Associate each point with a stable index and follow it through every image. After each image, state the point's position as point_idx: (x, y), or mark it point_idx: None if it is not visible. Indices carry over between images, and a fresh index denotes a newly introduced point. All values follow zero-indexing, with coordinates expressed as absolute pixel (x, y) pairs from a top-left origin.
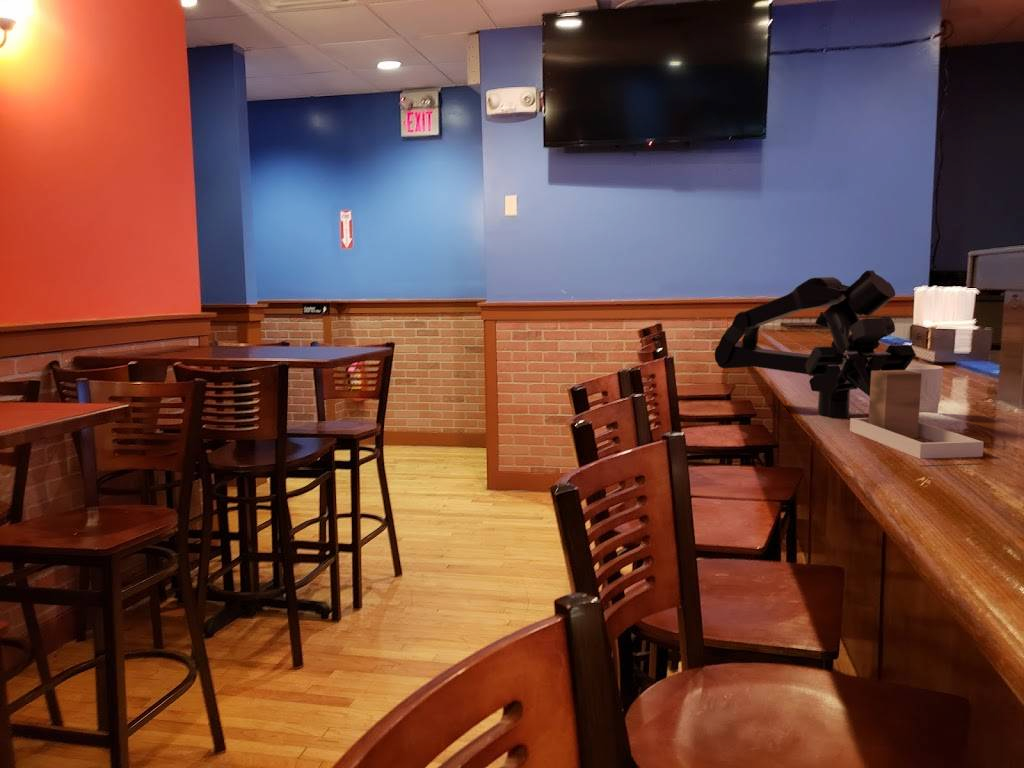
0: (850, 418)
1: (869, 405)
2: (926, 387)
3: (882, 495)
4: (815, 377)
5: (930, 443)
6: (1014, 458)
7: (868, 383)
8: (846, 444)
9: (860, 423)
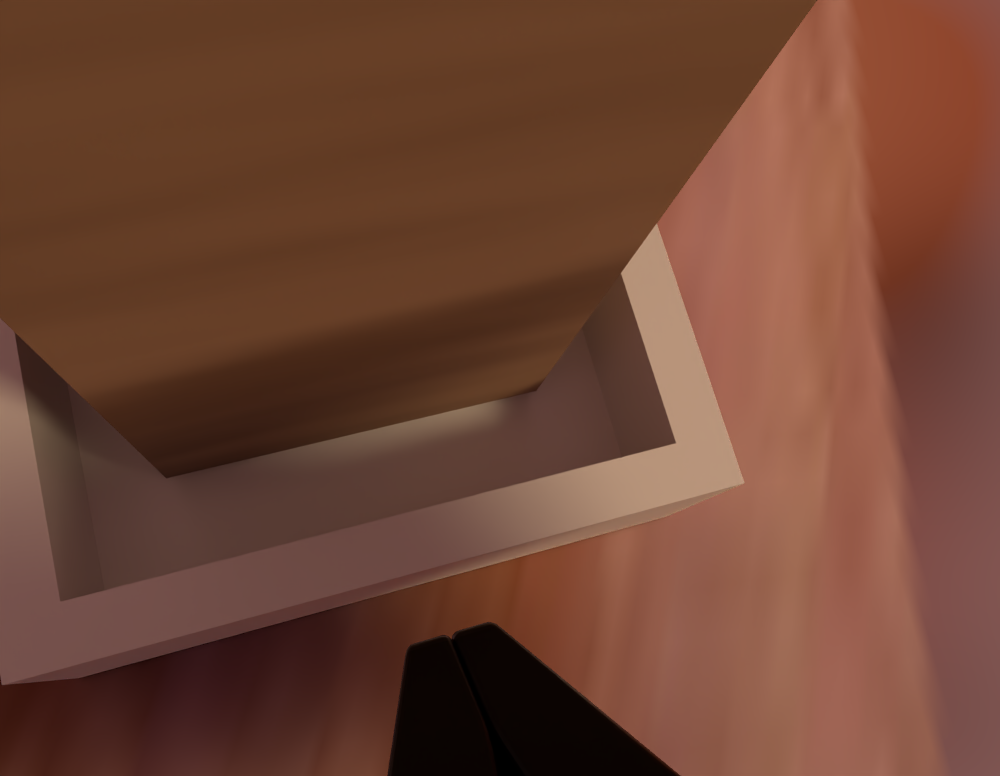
0: (743, 480)
1: (613, 277)
2: None
3: None
4: None
5: None
6: None
7: (636, 774)
8: (733, 235)
9: (665, 265)
